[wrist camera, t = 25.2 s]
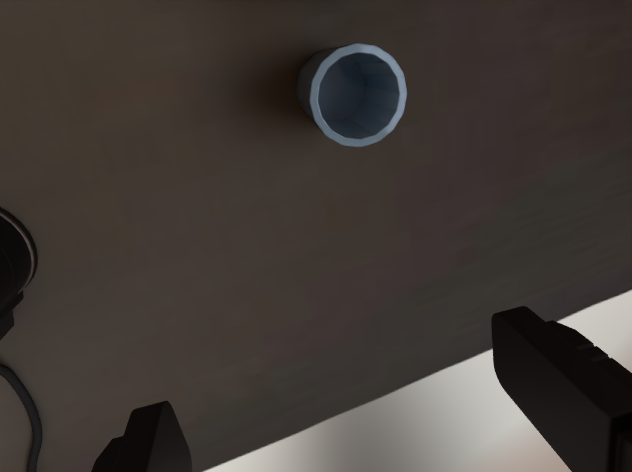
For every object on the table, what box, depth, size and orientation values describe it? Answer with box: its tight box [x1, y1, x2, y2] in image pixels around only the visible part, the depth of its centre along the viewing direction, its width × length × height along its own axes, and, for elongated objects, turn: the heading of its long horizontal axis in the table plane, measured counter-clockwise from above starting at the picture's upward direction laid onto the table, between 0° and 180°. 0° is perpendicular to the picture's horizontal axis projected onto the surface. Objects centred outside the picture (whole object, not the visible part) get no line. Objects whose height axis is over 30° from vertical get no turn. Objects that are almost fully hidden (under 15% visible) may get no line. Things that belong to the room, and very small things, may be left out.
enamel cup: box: [297, 43, 407, 147], centre depth 31 cm, size 6×6×10 cm
